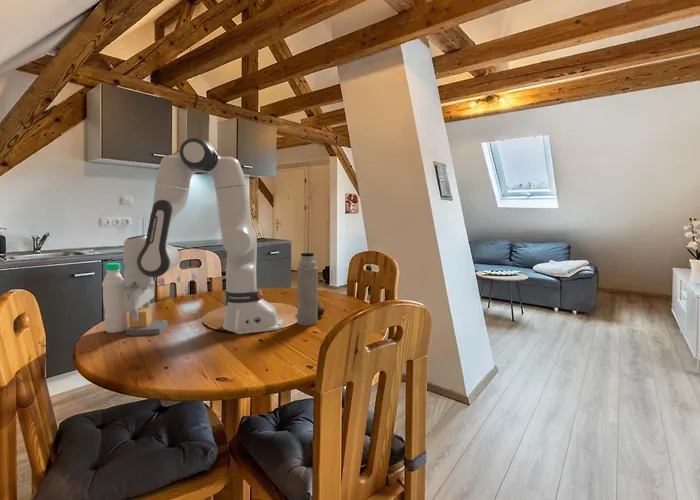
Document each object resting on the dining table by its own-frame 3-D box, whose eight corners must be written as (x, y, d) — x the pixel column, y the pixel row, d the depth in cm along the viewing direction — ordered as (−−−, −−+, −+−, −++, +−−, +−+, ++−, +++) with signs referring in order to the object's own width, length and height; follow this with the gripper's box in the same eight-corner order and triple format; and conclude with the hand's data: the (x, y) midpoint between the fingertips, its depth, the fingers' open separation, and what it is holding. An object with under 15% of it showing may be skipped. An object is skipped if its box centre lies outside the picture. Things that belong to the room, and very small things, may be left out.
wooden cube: (151, 321, 141) (151, 307, 141) (146, 326, 136) (145, 311, 135) (135, 322, 140) (135, 308, 140) (130, 327, 135) (129, 312, 134)
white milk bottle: (117, 334, 133) (112, 265, 130) (100, 332, 135) (95, 264, 132) (132, 328, 140) (128, 262, 137) (116, 326, 141) (112, 261, 138)
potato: (305, 319, 153) (305, 300, 152) (301, 310, 166) (301, 293, 165) (325, 318, 155) (325, 299, 154) (320, 309, 168) (320, 292, 167)
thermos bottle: (302, 318, 154) (302, 251, 151) (320, 320, 152) (320, 252, 148) (293, 324, 147) (293, 253, 143) (312, 326, 144) (312, 254, 141)
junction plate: (167, 325, 144) (167, 310, 143) (159, 334, 134) (158, 317, 133) (136, 326, 142) (136, 311, 141) (126, 335, 132) (125, 319, 131)
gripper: (137, 285, 126) (139, 325, 128) (157, 274, 146) (158, 308, 148) (117, 286, 125) (119, 326, 127) (139, 274, 145) (141, 309, 147)
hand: (141, 316), depth 138 cm, fingers open, 8 cm apart
